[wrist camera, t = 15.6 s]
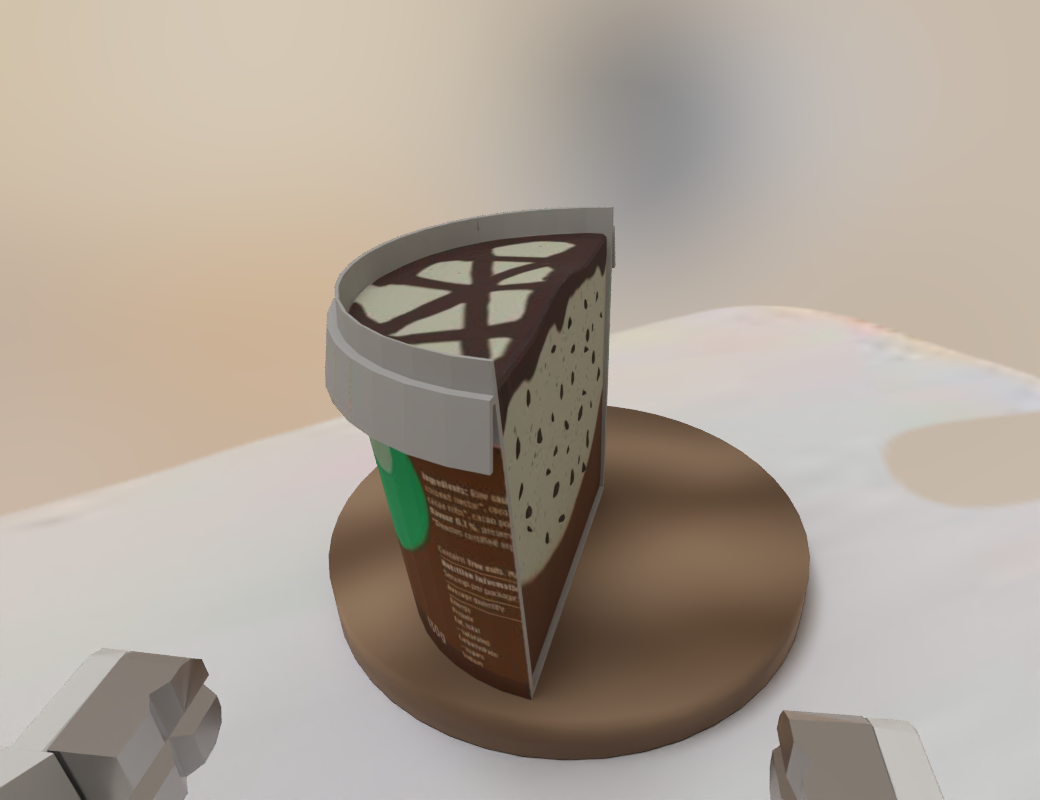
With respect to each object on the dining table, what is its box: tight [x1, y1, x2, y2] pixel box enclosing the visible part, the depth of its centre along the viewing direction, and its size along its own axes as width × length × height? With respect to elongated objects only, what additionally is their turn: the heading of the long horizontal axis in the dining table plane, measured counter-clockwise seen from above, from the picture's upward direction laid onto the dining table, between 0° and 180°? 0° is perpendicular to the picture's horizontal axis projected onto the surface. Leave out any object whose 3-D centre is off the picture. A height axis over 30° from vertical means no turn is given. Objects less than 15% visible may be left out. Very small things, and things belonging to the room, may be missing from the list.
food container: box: [325, 207, 615, 700], centre depth 20 cm, size 12×6×10 cm, turn 163°
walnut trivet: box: [329, 406, 810, 760], centre depth 24 cm, size 16×16×2 cm
